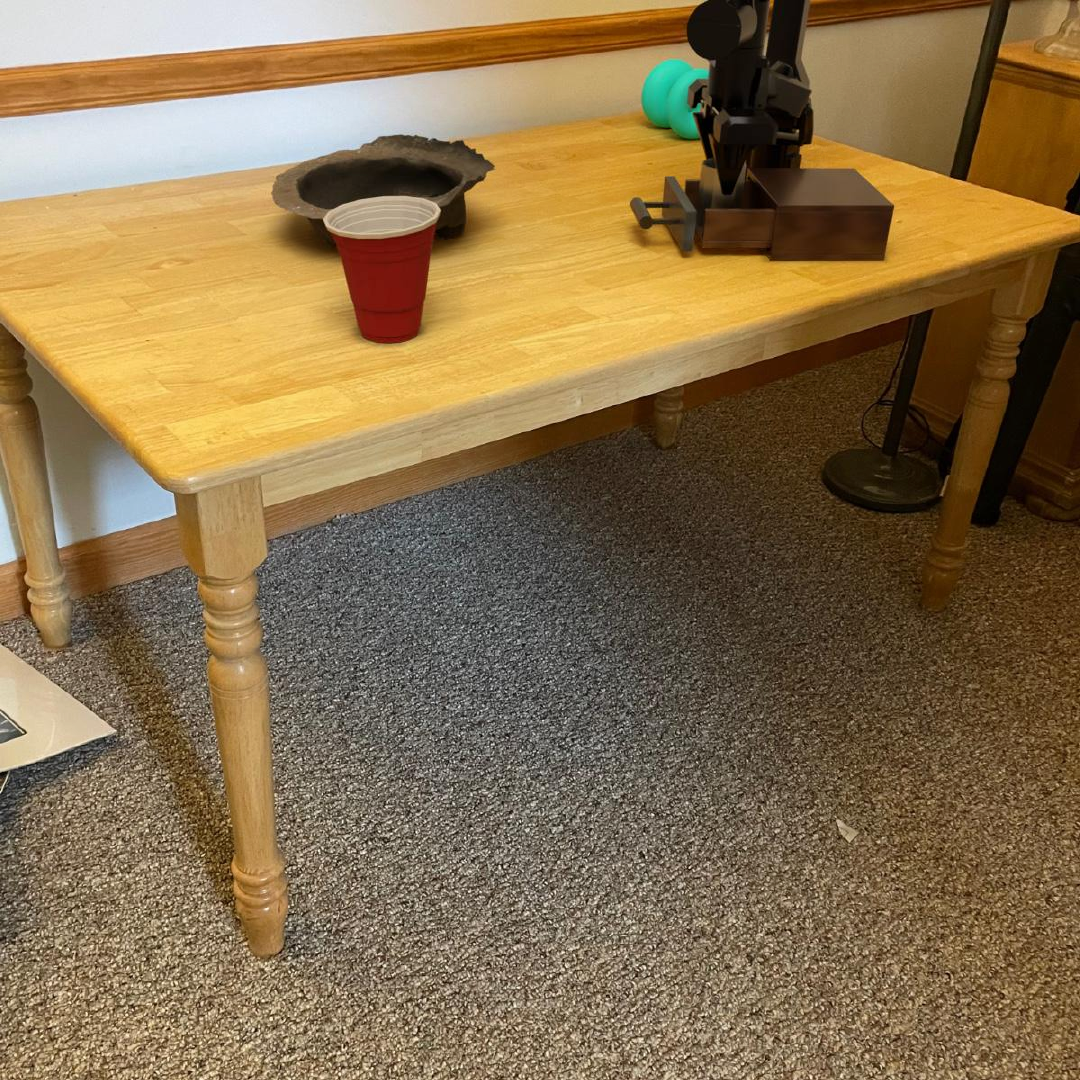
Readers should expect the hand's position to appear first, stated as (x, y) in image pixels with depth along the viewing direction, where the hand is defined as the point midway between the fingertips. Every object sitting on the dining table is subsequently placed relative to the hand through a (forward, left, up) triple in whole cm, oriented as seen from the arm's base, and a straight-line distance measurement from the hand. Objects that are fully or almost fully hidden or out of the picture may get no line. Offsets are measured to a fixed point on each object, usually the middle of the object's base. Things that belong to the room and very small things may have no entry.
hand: (721, 187), depth 137 cm
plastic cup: (-5, -46, -6) cm, 47 cm away
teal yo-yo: (-34, +35, -6) cm, 49 cm away
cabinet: (+7, +9, -6) cm, 13 cm away
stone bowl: (-27, -29, -6) cm, 40 cm away
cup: (0, 0, -4) cm, 4 cm away
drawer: (-1, -1, -5) cm, 6 cm away
